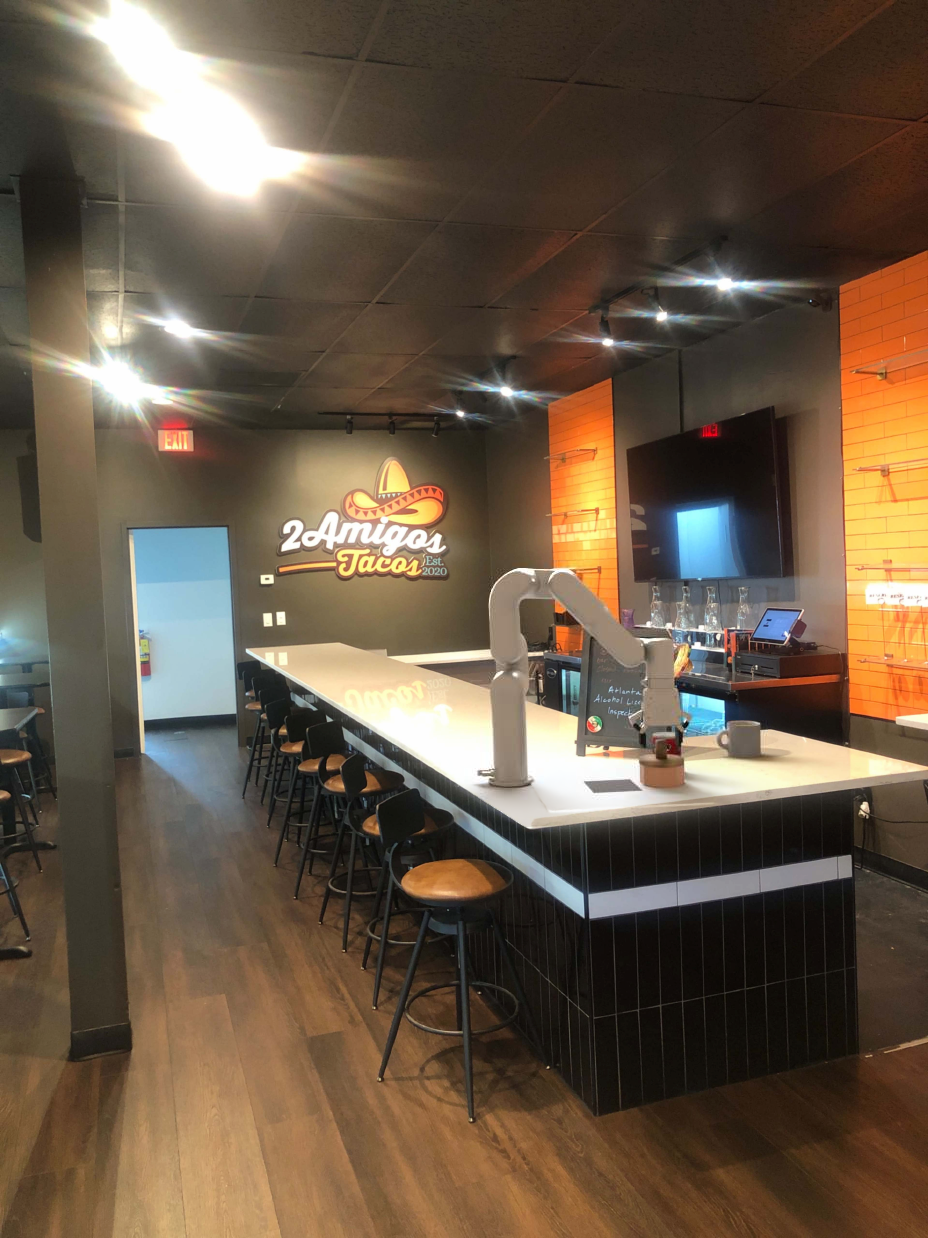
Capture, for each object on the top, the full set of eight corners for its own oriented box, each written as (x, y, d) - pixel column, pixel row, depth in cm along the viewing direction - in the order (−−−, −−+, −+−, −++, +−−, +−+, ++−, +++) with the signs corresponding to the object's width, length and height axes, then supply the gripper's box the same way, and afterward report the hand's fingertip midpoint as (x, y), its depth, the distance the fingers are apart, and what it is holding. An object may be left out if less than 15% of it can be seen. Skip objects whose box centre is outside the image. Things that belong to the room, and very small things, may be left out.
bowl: (647, 790, 239) (647, 768, 239) (636, 781, 250) (636, 759, 250) (688, 788, 240) (688, 766, 239) (675, 779, 251) (675, 757, 250)
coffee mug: (757, 752, 284) (756, 720, 284) (763, 758, 274) (763, 725, 274) (713, 752, 286) (713, 721, 285) (718, 758, 276) (718, 726, 275)
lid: (645, 768, 238) (645, 745, 238) (633, 759, 250) (633, 737, 250) (690, 766, 239) (689, 743, 239) (676, 757, 251) (675, 735, 251)
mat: (593, 795, 236) (593, 792, 236) (583, 783, 249) (583, 781, 249) (642, 792, 237) (642, 790, 237) (629, 781, 250) (629, 779, 250)
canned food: (648, 770, 262) (647, 733, 262) (671, 768, 265) (670, 730, 265) (662, 776, 255) (662, 737, 255) (686, 773, 258) (686, 735, 257)
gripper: (632, 686, 239) (633, 750, 240) (695, 684, 240) (696, 748, 241) (625, 683, 247) (626, 745, 247) (686, 681, 248) (687, 742, 249)
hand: (660, 746), depth 244 cm, fingers open, 9 cm apart
